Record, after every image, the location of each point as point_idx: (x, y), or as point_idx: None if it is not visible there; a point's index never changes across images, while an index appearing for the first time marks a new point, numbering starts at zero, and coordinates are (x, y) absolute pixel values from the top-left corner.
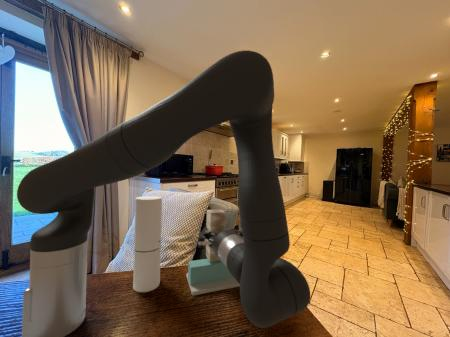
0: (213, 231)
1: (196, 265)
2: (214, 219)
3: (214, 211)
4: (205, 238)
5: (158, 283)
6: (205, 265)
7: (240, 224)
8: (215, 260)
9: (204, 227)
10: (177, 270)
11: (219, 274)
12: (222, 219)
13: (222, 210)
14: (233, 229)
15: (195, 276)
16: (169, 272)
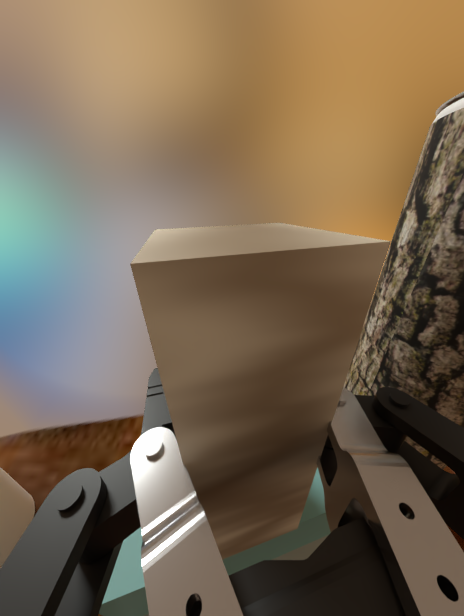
0: (204, 570)
1: (135, 565)
2: (220, 357)
3: (221, 238)
4: (137, 527)
5: (1, 566)
6: None
7: (405, 327)
8: (245, 548)
9: None
10: (125, 440)
11: (265, 554)
12: (327, 341)
13: (310, 228)
14: (406, 406)
15: (137, 607)
16: (96, 452)
